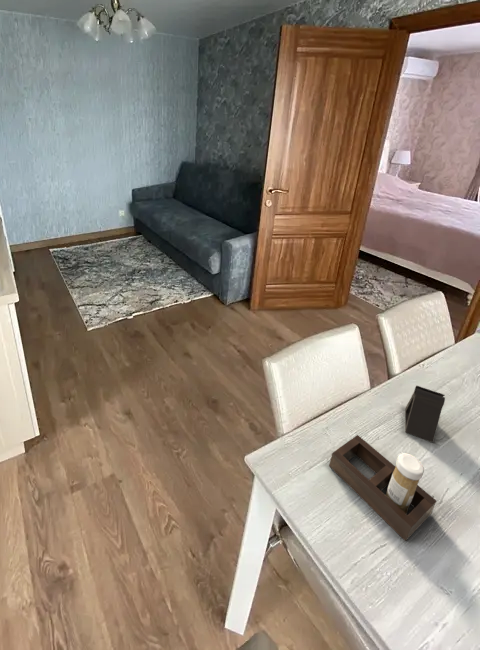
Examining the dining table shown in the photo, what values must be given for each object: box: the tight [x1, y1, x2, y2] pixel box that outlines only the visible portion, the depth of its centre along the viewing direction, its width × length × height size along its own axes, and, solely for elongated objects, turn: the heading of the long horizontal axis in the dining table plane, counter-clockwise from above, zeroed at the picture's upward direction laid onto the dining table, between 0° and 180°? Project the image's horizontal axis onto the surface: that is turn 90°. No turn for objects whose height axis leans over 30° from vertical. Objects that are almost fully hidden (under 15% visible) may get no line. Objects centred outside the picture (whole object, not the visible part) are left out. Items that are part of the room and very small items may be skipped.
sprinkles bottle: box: [385, 452, 425, 515], centre depth 72 cm, size 5×5×14 cm
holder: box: [328, 434, 438, 542], centre depth 77 cm, size 10×18×4 cm, turn 30°
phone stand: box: [404, 385, 446, 443], centre depth 91 cm, size 9×6×12 cm, turn 148°
